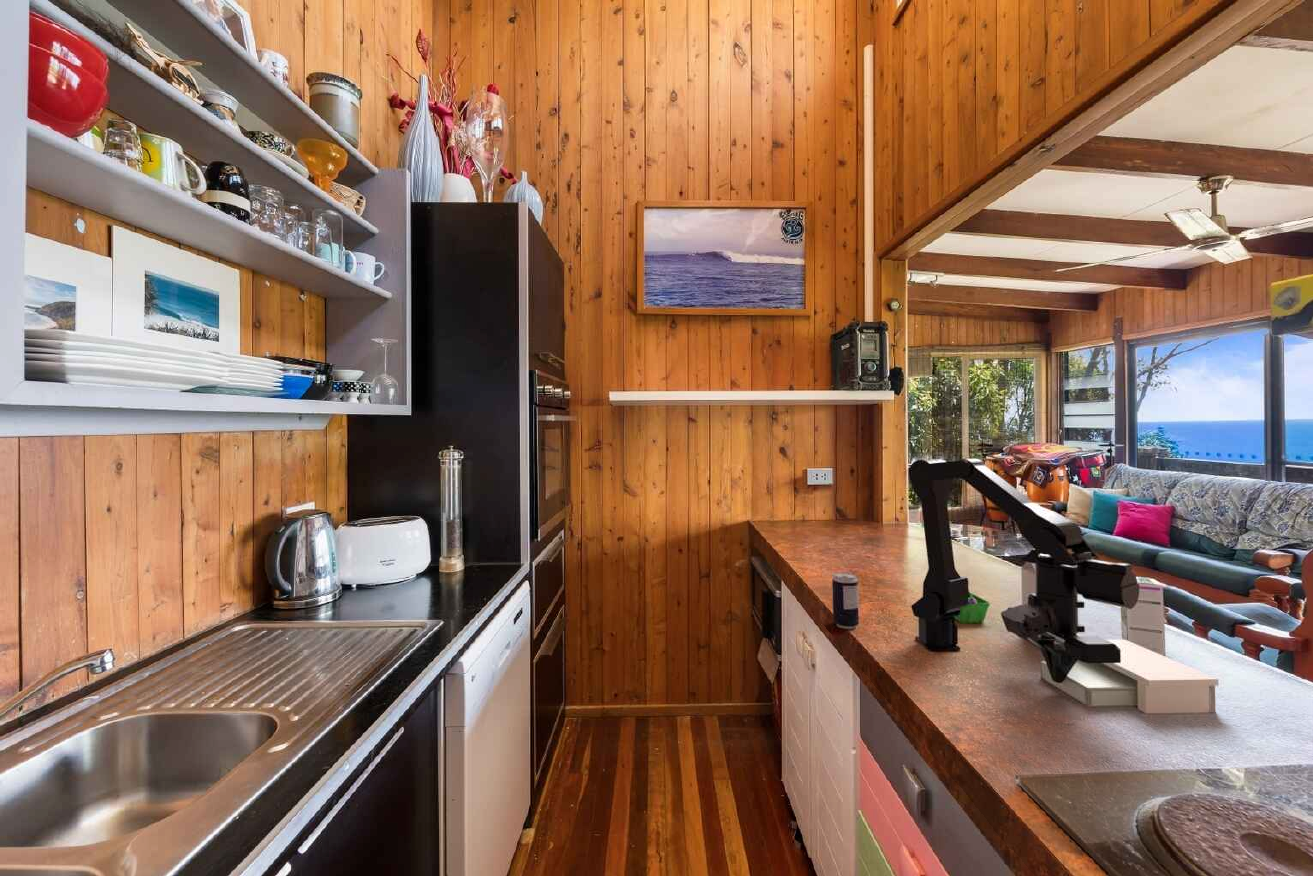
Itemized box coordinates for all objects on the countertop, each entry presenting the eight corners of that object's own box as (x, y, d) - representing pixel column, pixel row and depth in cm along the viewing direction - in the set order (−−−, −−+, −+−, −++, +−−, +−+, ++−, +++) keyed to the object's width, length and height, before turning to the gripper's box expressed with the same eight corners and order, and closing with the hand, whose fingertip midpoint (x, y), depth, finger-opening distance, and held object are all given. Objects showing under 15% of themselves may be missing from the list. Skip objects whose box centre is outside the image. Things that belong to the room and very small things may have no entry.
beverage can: (858, 622, 122) (857, 572, 122) (859, 631, 116) (858, 579, 116) (833, 620, 123) (832, 571, 124) (833, 628, 118) (832, 577, 118)
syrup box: (1166, 658, 100) (1165, 585, 100) (1126, 652, 103) (1125, 581, 103) (1157, 648, 105) (1156, 578, 105) (1119, 642, 108) (1118, 574, 108)
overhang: (1149, 715, 80) (1148, 680, 80) (1067, 669, 96) (1066, 640, 96) (1219, 714, 80) (1218, 679, 80) (1125, 668, 96) (1124, 639, 96)
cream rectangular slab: (1088, 706, 83) (1087, 687, 83) (1041, 677, 93) (1040, 661, 93) (1185, 704, 83) (1184, 686, 83) (1127, 675, 93) (1127, 659, 93)
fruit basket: (992, 624, 119) (991, 576, 119) (954, 625, 119) (953, 577, 119) (963, 608, 130) (963, 565, 131) (929, 609, 131) (928, 565, 131)
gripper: (975, 577, 97) (977, 659, 97) (1051, 610, 79) (1052, 711, 78) (1033, 577, 97) (1035, 658, 97) (1123, 609, 79) (1124, 710, 78)
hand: (1057, 682), depth 88 cm, fingers closed, pressing on cream rectangular slab
